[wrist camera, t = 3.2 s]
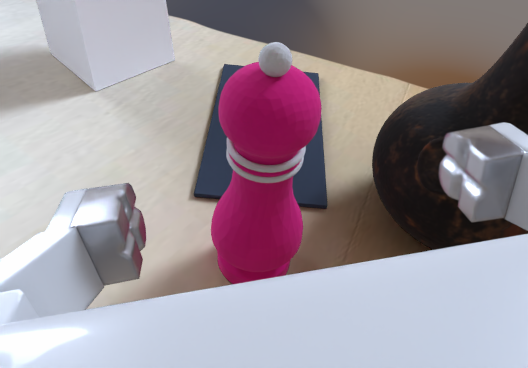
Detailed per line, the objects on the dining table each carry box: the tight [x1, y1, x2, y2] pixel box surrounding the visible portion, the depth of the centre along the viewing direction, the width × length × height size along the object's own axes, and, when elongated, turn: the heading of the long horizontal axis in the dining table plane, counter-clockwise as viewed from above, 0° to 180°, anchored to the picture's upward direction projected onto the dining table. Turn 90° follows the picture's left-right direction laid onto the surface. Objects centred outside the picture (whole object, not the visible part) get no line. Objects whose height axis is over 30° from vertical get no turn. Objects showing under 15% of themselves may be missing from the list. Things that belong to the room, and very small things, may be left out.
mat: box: [194, 64, 327, 209], centre depth 48 cm, size 24×13×1 cm, turn 177°
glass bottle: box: [372, 23, 528, 250], centre depth 31 cm, size 18×18×28 cm
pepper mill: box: [211, 42, 321, 284], centre depth 28 cm, size 7×7×20 cm
